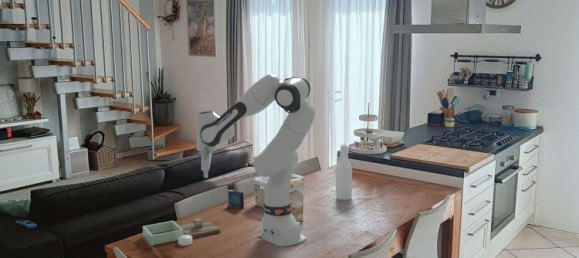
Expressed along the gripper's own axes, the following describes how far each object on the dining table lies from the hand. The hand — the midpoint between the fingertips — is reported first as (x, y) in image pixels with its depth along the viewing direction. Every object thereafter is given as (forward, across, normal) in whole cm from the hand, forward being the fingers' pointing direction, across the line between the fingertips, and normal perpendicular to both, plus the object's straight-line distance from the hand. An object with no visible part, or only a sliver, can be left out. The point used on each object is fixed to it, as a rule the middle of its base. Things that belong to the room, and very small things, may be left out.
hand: (206, 174), depth 243 cm
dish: (+24, -16, +18) cm, 35 cm away
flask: (+26, +24, -14) cm, 38 cm away
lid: (+23, -11, +3) cm, 26 cm away
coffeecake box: (+24, +1, -38) cm, 45 cm away
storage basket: (+26, +27, -37) cm, 52 cm away
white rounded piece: (+24, -25, +8) cm, 35 cm away
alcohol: (+25, +32, -73) cm, 83 cm away
